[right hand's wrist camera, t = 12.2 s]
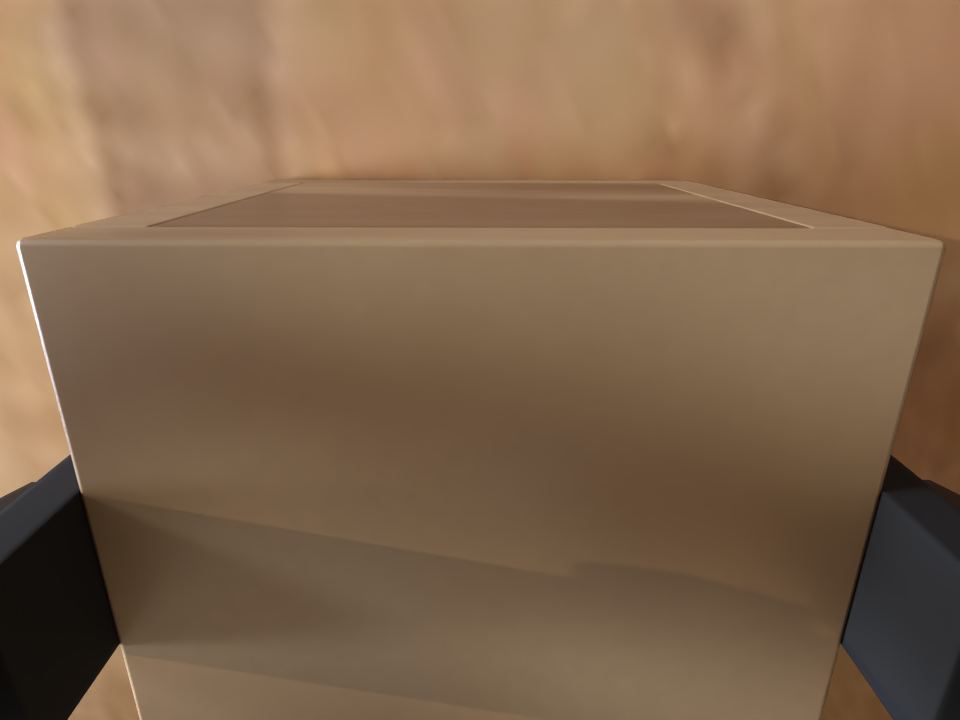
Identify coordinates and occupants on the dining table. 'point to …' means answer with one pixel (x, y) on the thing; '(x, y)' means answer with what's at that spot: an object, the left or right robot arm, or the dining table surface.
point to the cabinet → (480, 443)
